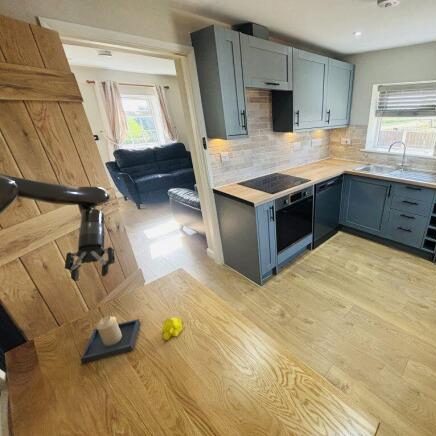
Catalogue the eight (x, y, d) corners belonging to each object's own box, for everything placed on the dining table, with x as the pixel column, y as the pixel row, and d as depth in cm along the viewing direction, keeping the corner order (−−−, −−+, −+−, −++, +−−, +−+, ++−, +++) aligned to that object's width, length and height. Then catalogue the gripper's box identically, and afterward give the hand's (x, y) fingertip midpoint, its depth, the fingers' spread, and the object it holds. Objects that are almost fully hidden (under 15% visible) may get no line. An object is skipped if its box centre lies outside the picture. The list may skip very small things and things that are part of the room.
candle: (100, 342, 86) (91, 322, 82) (116, 331, 90) (109, 311, 86) (109, 348, 83) (100, 328, 79) (125, 337, 88) (117, 317, 84)
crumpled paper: (186, 324, 95) (182, 309, 91) (172, 341, 87) (168, 326, 84) (173, 321, 96) (169, 306, 93) (159, 337, 89) (154, 322, 85)
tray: (82, 363, 79) (80, 359, 78) (96, 333, 90) (94, 328, 89) (132, 350, 84) (131, 345, 83) (140, 323, 95) (138, 318, 94)
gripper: (62, 235, 85) (58, 280, 80) (109, 230, 90) (108, 272, 84) (74, 241, 92) (71, 283, 87) (117, 236, 96) (117, 276, 91)
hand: (90, 278), depth 86 cm, fingers open, 8 cm apart
